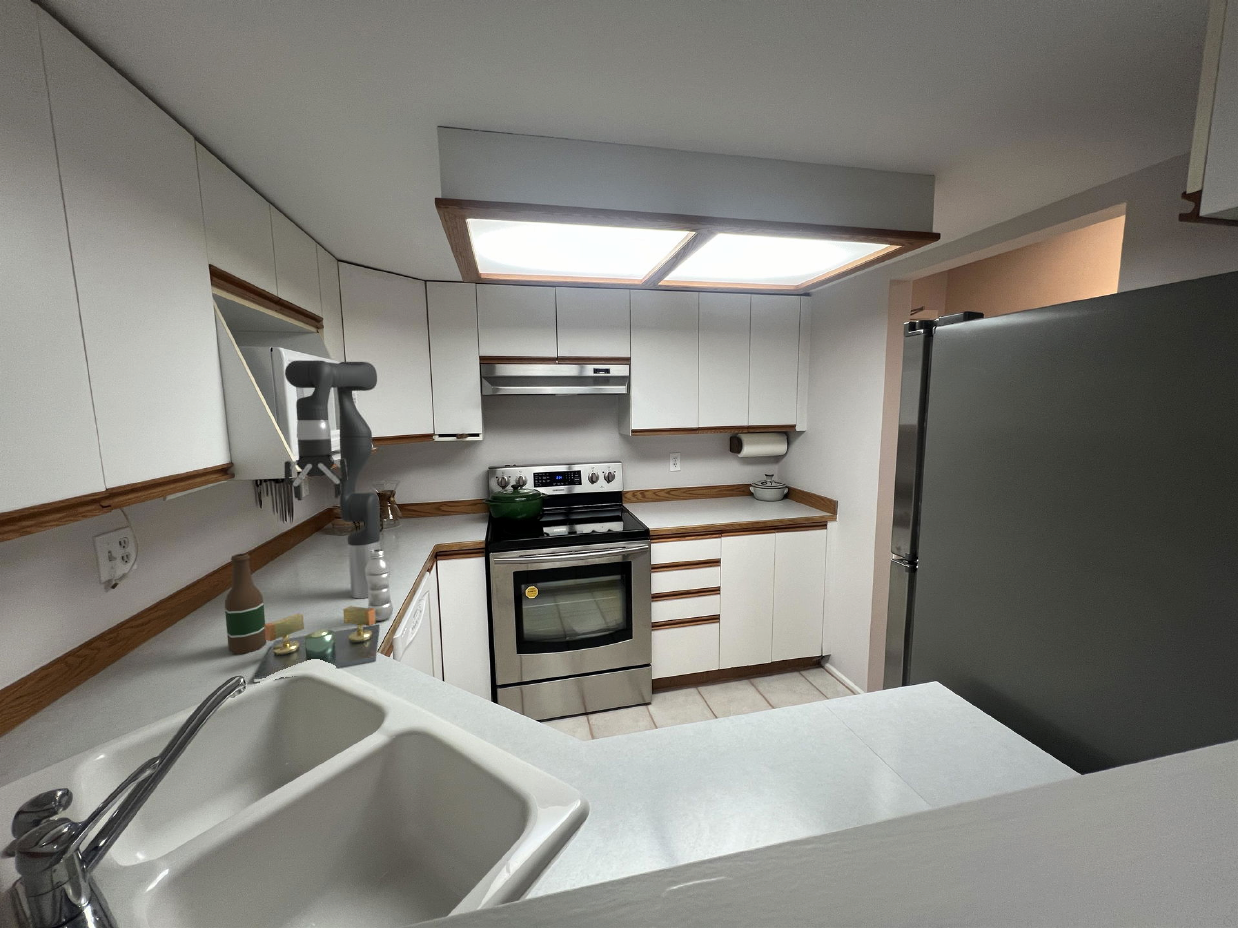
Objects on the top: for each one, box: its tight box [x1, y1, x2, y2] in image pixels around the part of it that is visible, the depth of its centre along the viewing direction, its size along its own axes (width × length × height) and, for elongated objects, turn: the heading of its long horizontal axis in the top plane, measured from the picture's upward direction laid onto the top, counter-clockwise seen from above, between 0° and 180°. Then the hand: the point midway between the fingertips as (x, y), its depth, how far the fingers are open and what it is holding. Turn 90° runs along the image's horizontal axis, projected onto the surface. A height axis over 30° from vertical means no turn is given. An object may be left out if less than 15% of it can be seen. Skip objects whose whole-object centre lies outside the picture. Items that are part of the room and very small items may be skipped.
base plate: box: [253, 624, 381, 680], centre depth 123 cm, size 20×24×7 cm
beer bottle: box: [224, 553, 267, 655], centre depth 125 cm, size 8×8×24 cm
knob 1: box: [264, 613, 305, 655], centre depth 121 cm, size 8×5×8 cm
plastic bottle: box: [365, 548, 394, 622], centre depth 143 cm, size 6×7×20 cm
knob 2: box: [342, 605, 377, 642], centre depth 128 cm, size 8×5×8 cm
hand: (318, 498), depth 133 cm, fingers open, 8 cm apart
